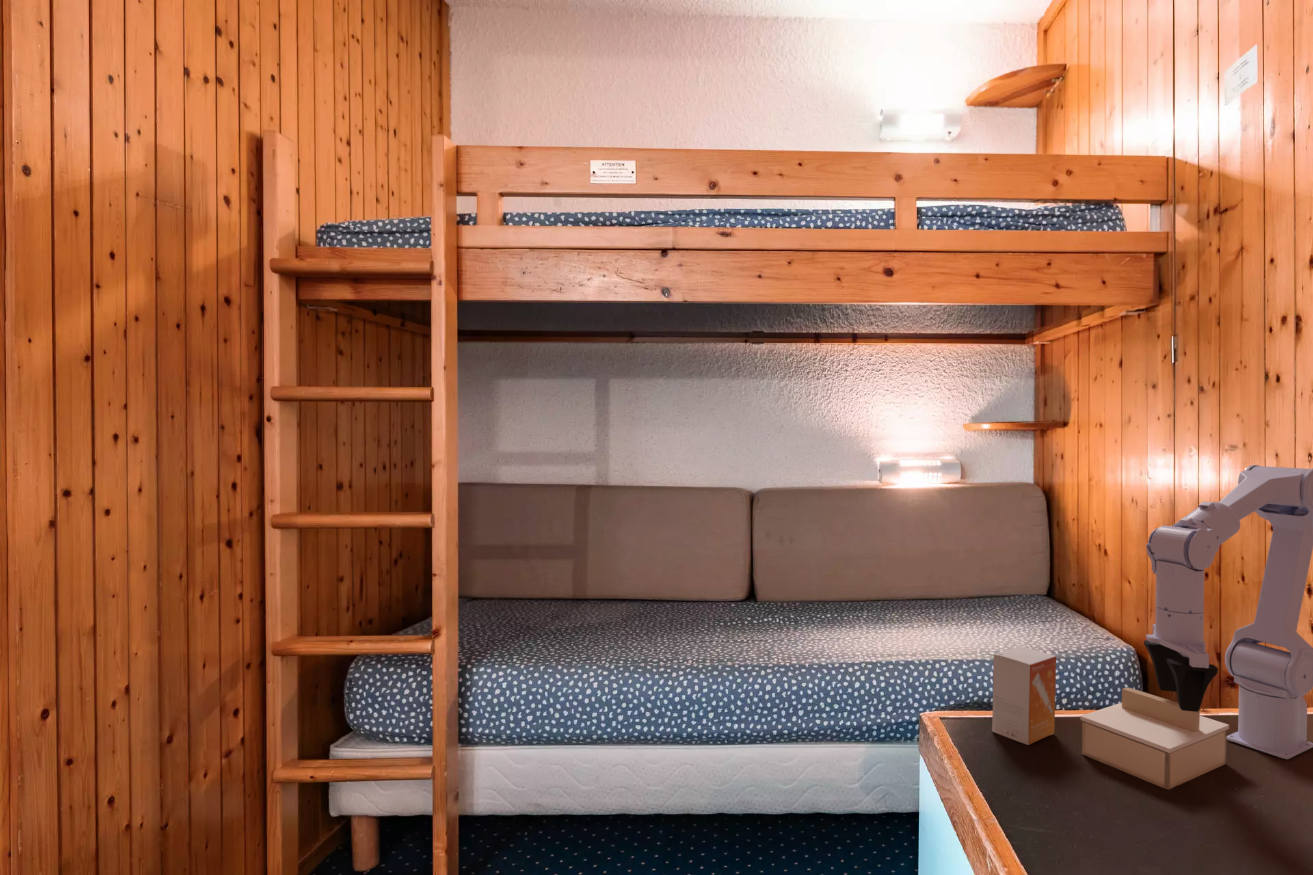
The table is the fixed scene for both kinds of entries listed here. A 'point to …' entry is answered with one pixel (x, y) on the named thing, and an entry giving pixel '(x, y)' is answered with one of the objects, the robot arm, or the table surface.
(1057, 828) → the table surface
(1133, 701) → the lid
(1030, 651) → the small box
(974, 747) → the table surface
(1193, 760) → the box
